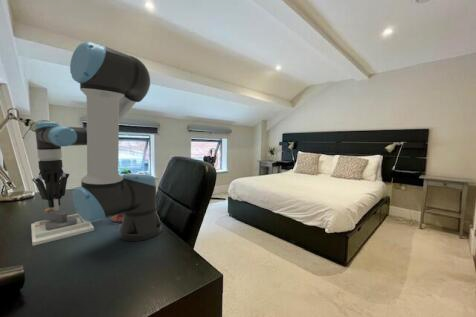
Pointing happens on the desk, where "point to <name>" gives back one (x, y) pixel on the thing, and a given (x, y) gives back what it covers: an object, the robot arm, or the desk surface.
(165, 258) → the desk surface
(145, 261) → the desk surface
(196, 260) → the desk surface
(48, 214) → the dial
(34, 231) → the panel
